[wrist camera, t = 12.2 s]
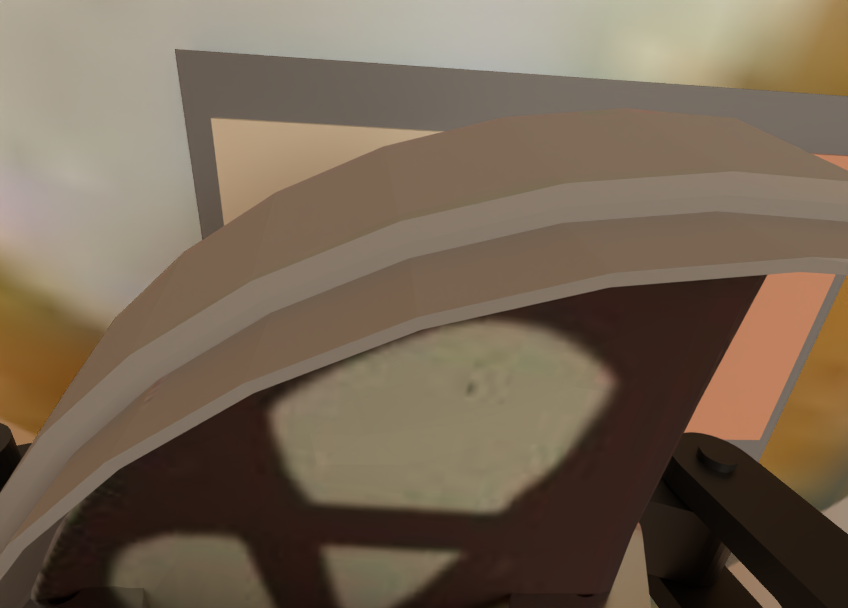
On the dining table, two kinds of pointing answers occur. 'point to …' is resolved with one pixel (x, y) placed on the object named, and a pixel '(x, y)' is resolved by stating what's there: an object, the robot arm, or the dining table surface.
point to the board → (478, 102)
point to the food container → (419, 370)
